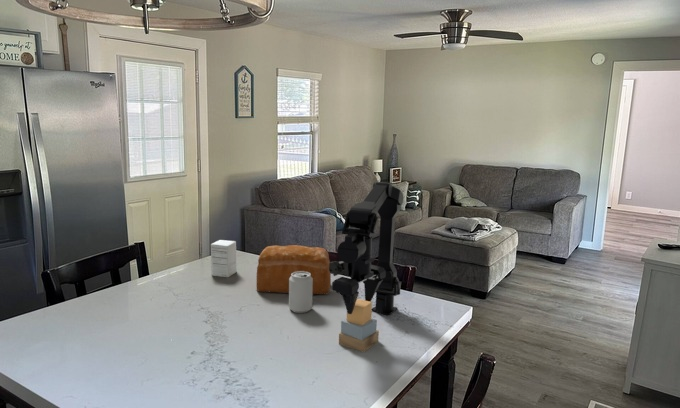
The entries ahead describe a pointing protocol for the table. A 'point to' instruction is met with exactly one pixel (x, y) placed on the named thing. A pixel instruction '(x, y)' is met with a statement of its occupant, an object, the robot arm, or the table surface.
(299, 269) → the bread
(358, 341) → the walnut base block
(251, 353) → the table surface
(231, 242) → the supplement box
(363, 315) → the ochre cube
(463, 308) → the table surface
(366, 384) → the table surface
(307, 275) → the can
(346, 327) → the slate block
